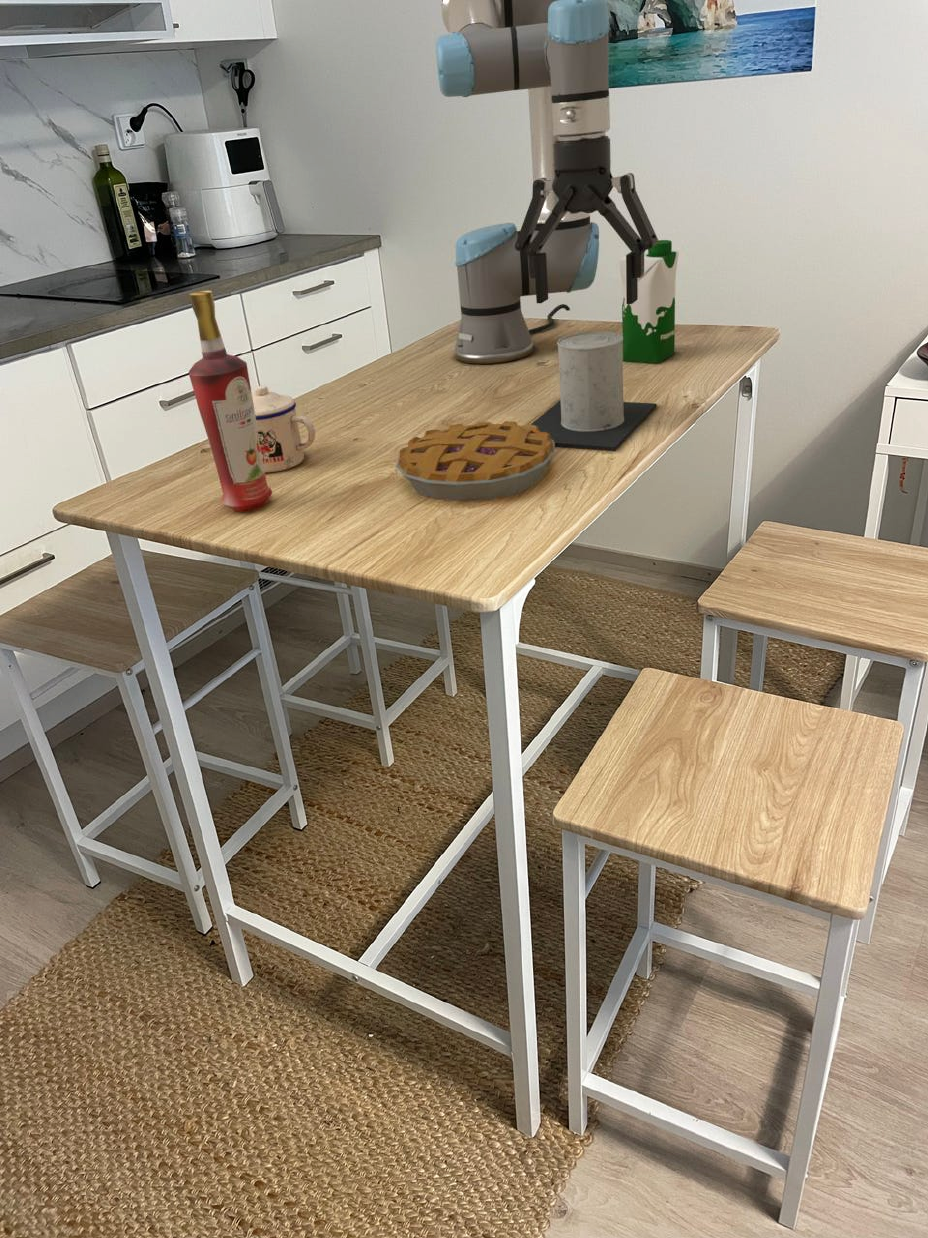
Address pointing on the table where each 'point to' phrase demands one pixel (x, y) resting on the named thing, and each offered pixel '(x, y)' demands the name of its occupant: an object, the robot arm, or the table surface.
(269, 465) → the teacup with lid
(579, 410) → the tin can
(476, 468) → the pie
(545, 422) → the back mat
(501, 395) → the table surface
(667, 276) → the milk carton
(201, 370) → the liquor
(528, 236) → the robot arm
